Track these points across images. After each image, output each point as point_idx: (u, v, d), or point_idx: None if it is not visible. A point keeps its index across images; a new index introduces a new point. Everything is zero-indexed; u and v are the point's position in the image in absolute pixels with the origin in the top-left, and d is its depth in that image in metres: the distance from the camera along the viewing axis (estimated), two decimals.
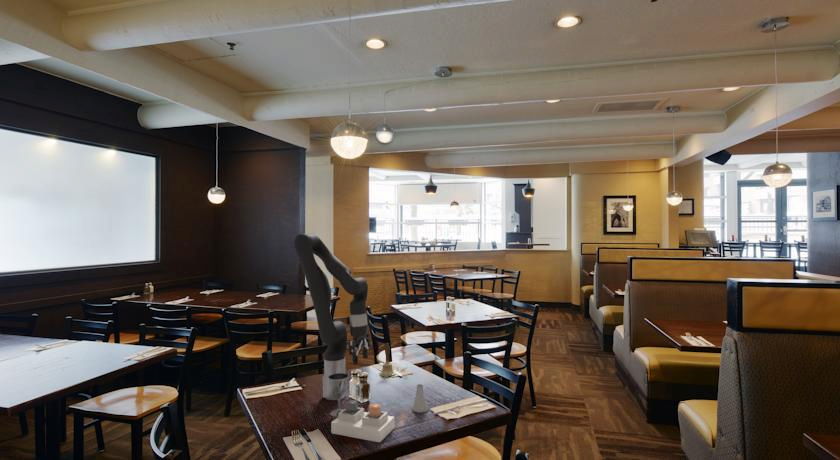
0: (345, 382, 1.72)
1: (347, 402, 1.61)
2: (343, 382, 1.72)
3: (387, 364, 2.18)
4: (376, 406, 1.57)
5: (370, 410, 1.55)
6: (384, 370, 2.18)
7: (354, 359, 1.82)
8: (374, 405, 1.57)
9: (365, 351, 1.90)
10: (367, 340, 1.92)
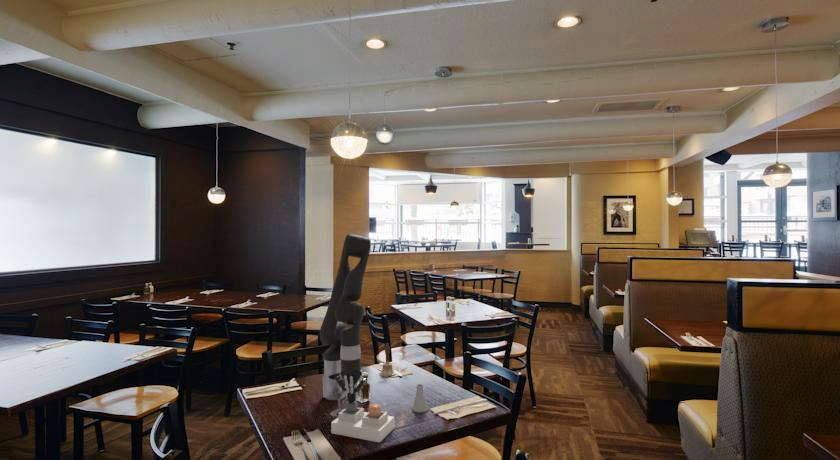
0: None
1: (347, 402, 1.61)
2: None
3: (387, 364, 2.18)
4: (376, 406, 1.57)
5: (370, 410, 1.55)
6: (384, 370, 2.18)
7: (355, 396, 1.60)
8: (374, 405, 1.57)
9: None
10: (343, 381, 1.63)
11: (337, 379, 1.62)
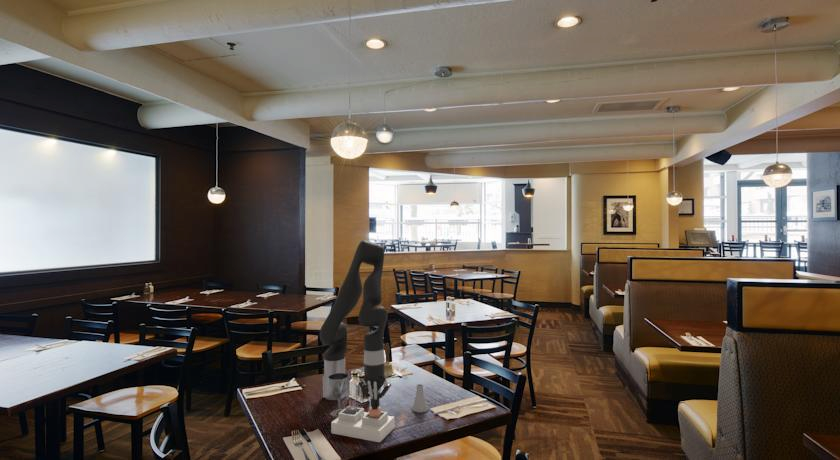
0: (345, 382, 1.72)
1: (347, 408, 1.61)
2: (343, 382, 1.72)
3: (387, 364, 2.18)
4: None
5: (370, 412, 1.55)
6: None
7: (378, 402, 1.57)
8: None
9: None
10: (366, 386, 1.59)
11: (360, 384, 1.58)
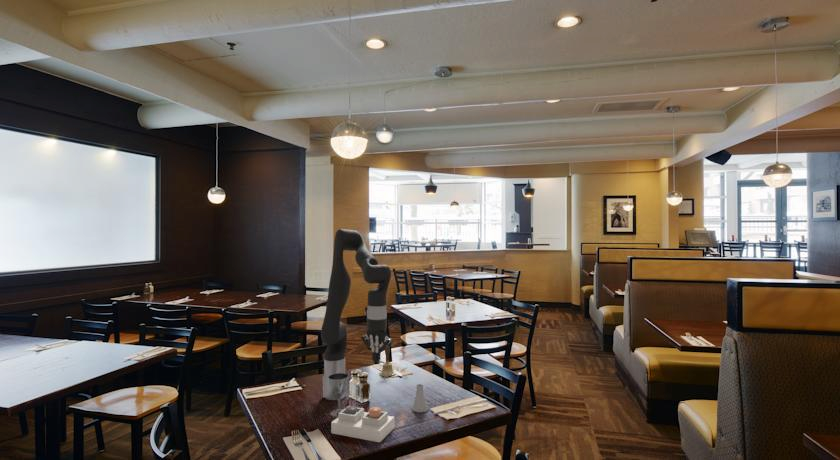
0: (345, 382, 1.72)
1: (347, 408, 1.61)
2: (343, 382, 1.72)
3: (387, 364, 2.18)
4: (376, 409, 1.57)
5: (370, 413, 1.55)
6: (384, 370, 2.18)
7: (379, 356, 1.64)
8: (374, 408, 1.57)
9: None
10: (369, 340, 1.67)
11: (363, 338, 1.66)
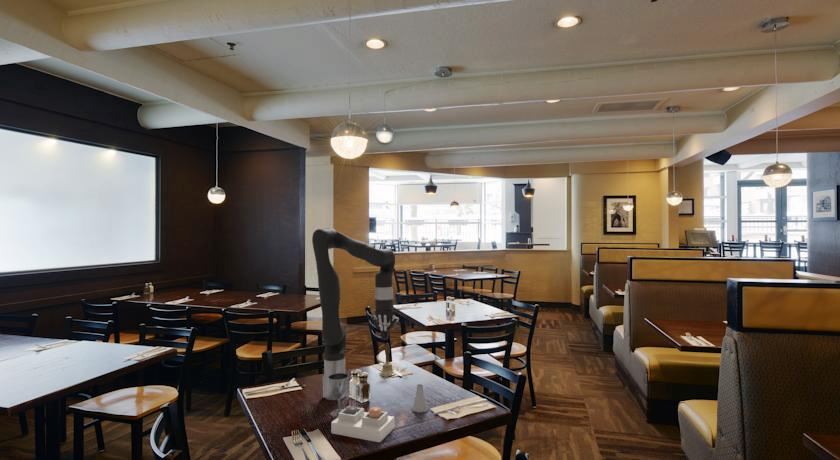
0: (345, 382, 1.72)
1: (347, 408, 1.61)
2: (343, 382, 1.72)
3: (387, 364, 2.18)
4: (376, 409, 1.57)
5: (370, 413, 1.55)
6: (384, 370, 2.18)
7: (388, 334, 1.76)
8: (374, 408, 1.57)
9: None
10: (377, 320, 1.78)
11: (371, 318, 1.77)
